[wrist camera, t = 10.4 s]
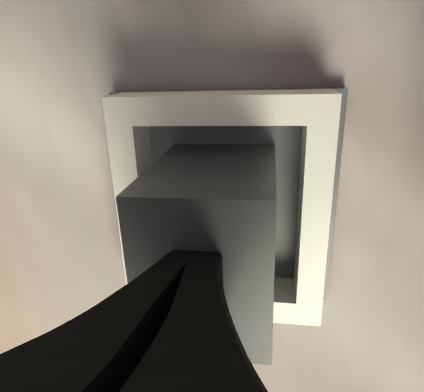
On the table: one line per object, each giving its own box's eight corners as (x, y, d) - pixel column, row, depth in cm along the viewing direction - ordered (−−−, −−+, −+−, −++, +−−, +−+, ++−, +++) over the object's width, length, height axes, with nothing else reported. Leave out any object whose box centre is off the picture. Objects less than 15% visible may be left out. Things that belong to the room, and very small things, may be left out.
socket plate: (345, 87, 14) (358, 93, 11) (325, 292, 17) (333, 327, 15) (114, 91, 15) (88, 97, 13) (136, 280, 18) (118, 310, 16)
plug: (274, 144, 14) (276, 200, 9) (271, 288, 16) (270, 406, 11) (174, 144, 15) (115, 196, 9) (184, 283, 17) (142, 392, 12)
